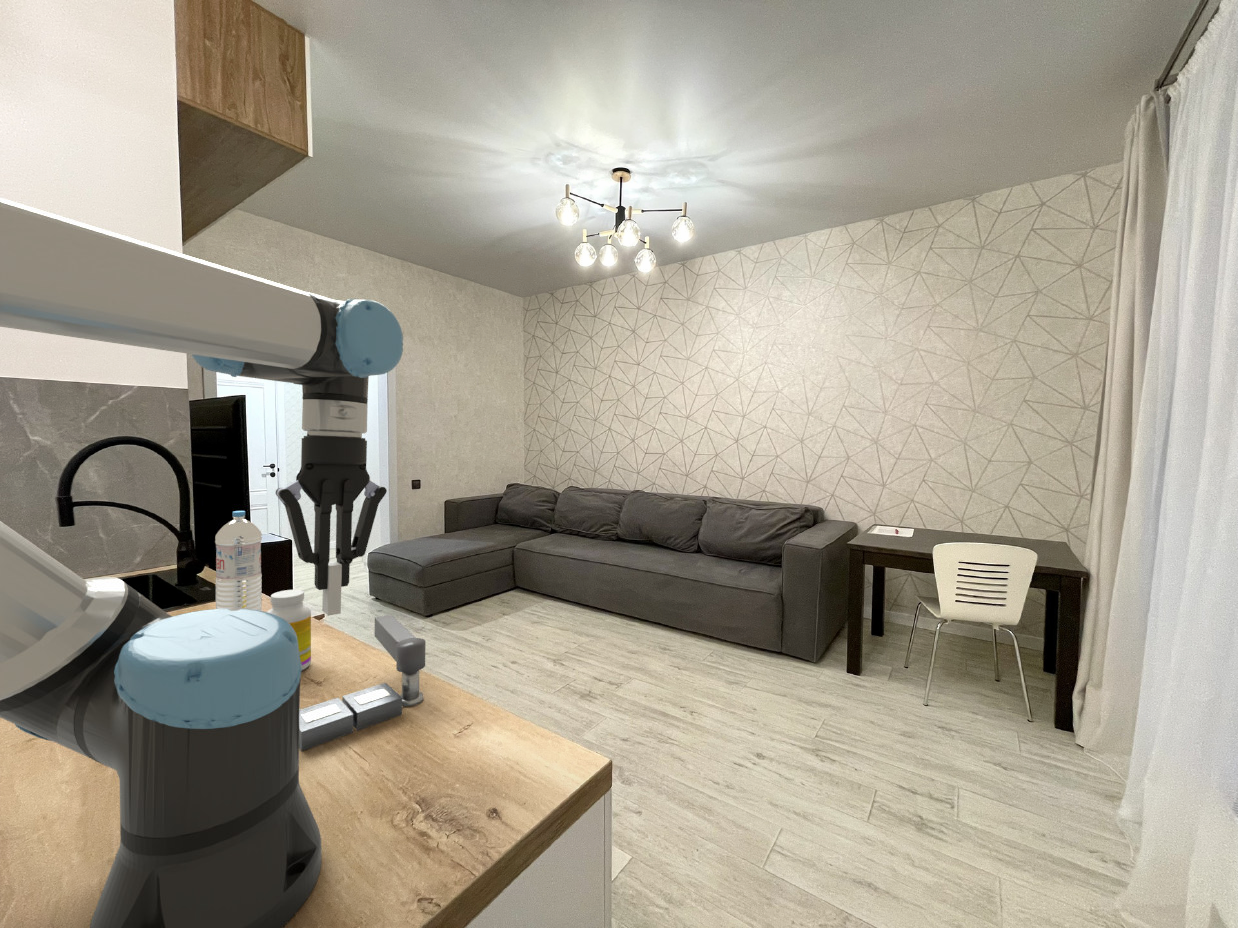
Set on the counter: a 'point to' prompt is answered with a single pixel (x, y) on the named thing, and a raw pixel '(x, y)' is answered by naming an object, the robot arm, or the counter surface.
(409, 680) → the pivot post
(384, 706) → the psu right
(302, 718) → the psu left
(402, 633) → the cable arm
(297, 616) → the supplement bottle
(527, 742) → the counter surface
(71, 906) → the counter surface
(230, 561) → the water bottle
